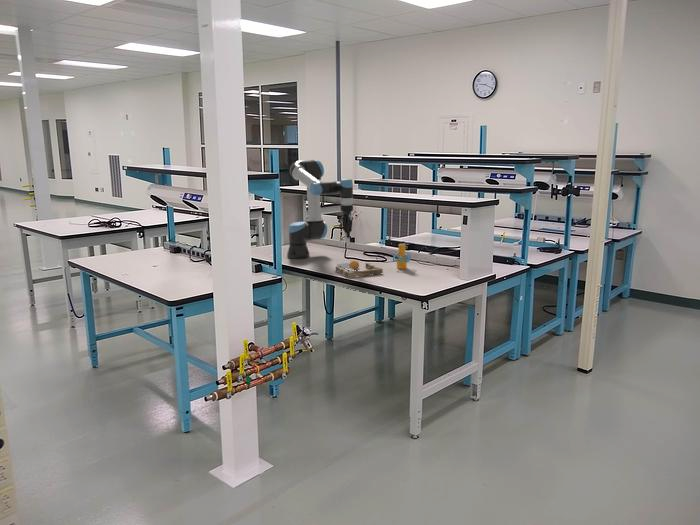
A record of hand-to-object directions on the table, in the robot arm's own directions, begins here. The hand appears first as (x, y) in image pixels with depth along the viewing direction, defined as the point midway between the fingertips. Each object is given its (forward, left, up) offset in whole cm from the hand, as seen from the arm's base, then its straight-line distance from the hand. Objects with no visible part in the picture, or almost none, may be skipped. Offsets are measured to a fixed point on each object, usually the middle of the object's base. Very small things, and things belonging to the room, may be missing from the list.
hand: (347, 242), depth 326 cm
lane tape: (+6, 0, -15) cm, 17 cm away
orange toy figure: (+19, +28, -16) cm, 37 cm away
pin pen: (+16, 0, -15) cm, 22 cm away
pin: (+14, -4, -14) cm, 20 cm away
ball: (+10, 0, -12) cm, 16 cm away
